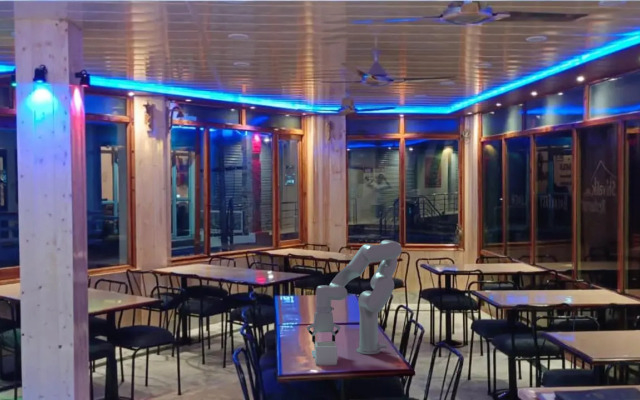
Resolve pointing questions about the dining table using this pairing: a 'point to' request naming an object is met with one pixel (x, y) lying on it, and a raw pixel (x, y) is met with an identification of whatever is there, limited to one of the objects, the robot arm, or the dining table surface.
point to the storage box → (326, 353)
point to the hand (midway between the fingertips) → (323, 343)
